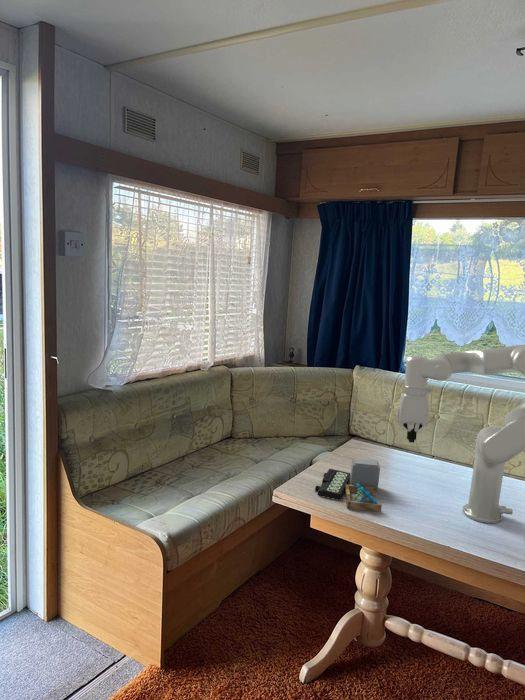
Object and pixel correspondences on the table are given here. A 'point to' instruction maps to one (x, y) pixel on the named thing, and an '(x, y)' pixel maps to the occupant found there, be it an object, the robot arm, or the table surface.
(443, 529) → the table surface
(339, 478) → the digital display
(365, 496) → the gear
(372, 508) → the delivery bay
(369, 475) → the box
